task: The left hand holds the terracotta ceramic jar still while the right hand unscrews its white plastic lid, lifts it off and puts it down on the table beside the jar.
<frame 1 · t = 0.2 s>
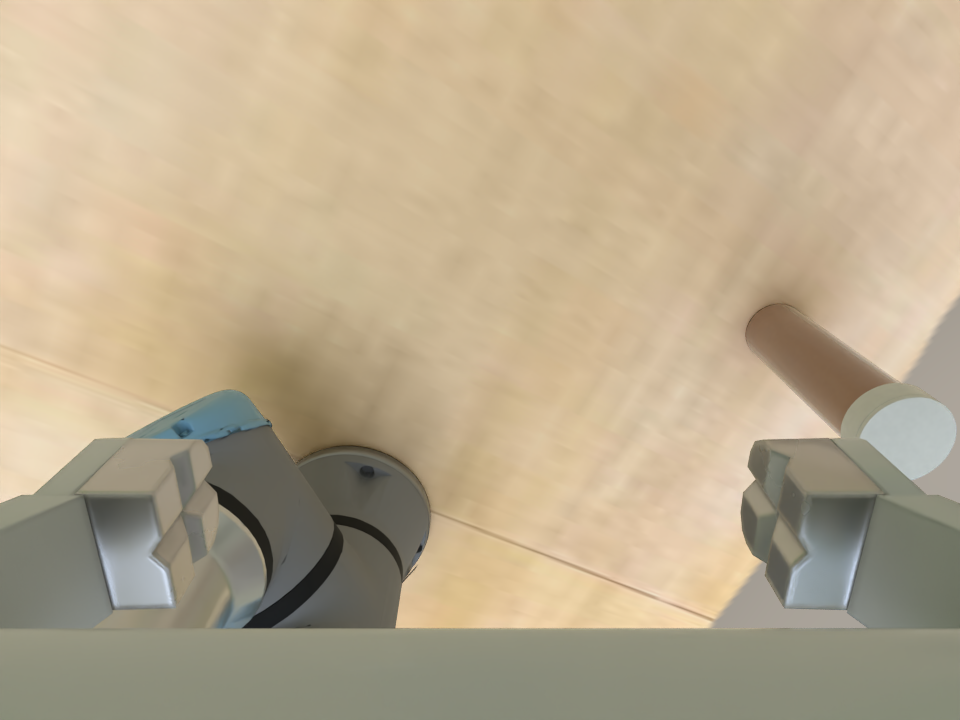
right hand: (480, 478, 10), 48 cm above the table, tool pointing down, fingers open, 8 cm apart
lid: (903, 438, 42), point 20 cm above the table, screwed on, not yet turned
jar: (774, 331, 60), on the table
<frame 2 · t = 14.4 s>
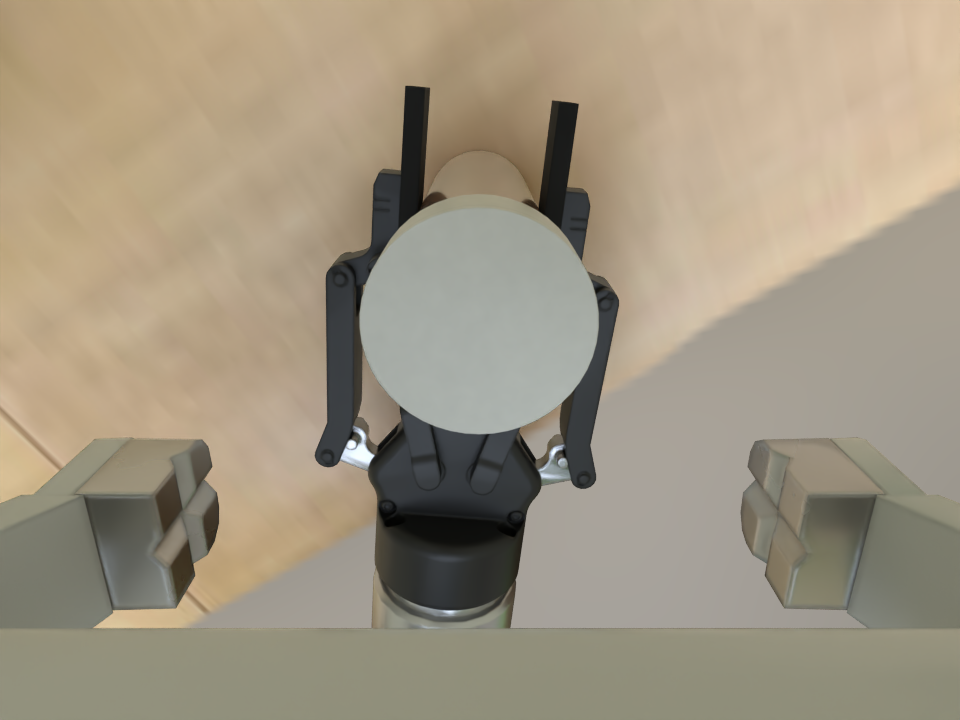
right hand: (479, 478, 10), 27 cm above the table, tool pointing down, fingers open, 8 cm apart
left hand: (491, 95, 27), fingers closed on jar, 5 cm apart
lid: (479, 324, 17), point 20 cm above the table, screwed on, not yet turned
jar: (479, 201, 35), on the table, touching left hand
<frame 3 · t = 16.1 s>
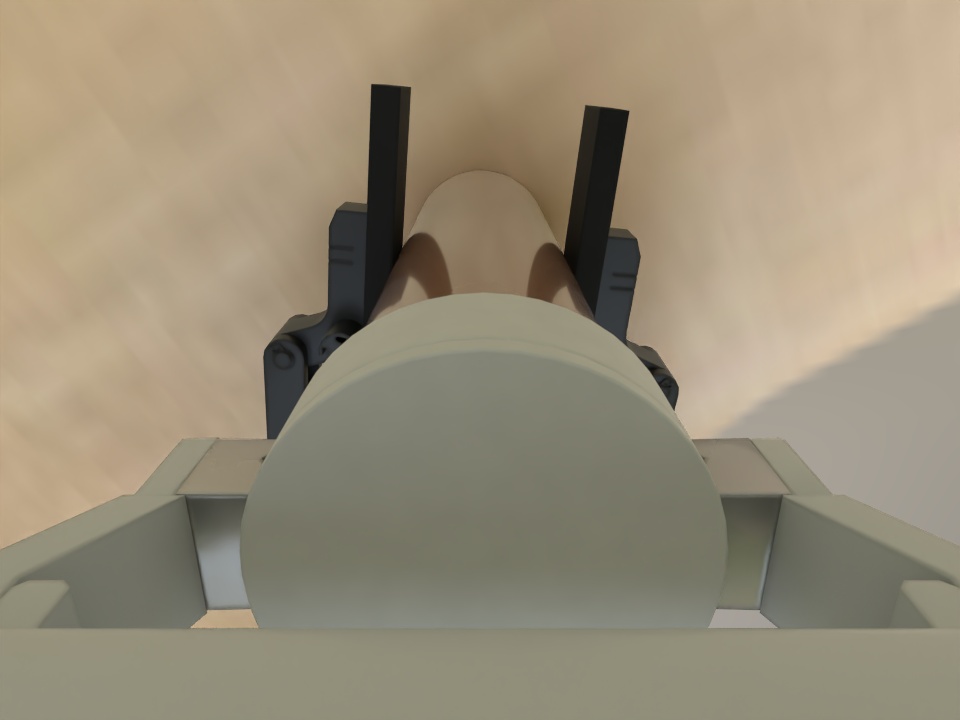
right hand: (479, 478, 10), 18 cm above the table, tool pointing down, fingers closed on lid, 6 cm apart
lid: (483, 557, 9), point 20 cm above the table, screwed on, not yet turned, touching right hand
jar: (480, 236, 27), on the table, touching left hand
when the right hand's fingers open (18 cm above the table, at t = 17.4 s): lid stays where it is, point 20 cm above the table.
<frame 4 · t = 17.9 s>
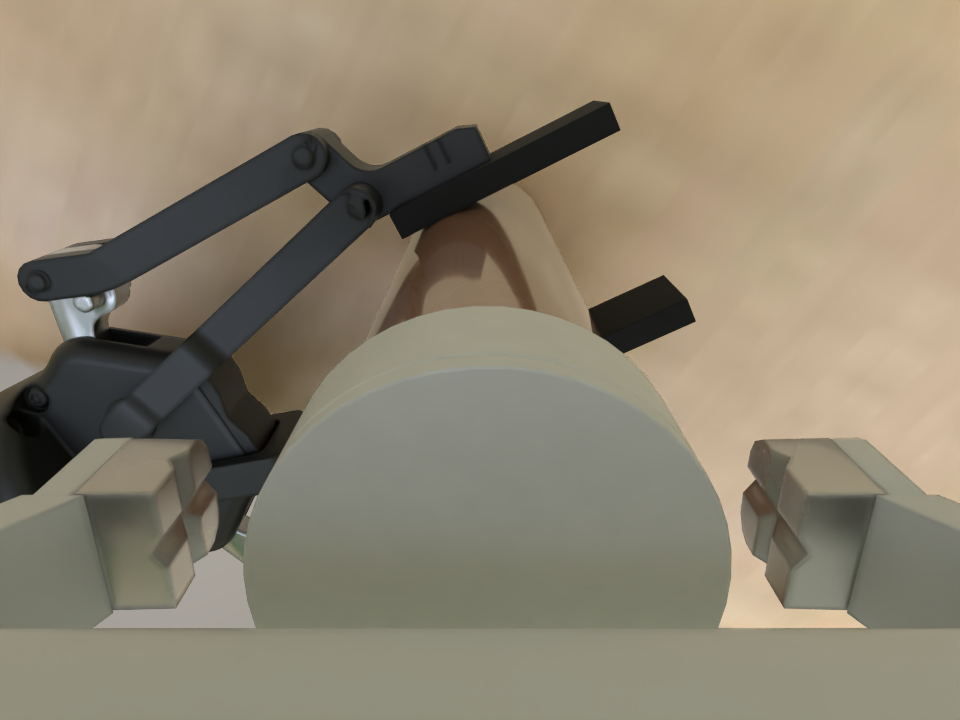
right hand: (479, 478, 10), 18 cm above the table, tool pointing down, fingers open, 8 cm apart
left hand: (642, 210, 20), fingers closed on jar, 5 cm apart
lid: (487, 571, 9), point 20 cm above the table, turned 77° so far, risen 0.2 cm, still on its thread
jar: (481, 240, 27), on the table, touching left hand
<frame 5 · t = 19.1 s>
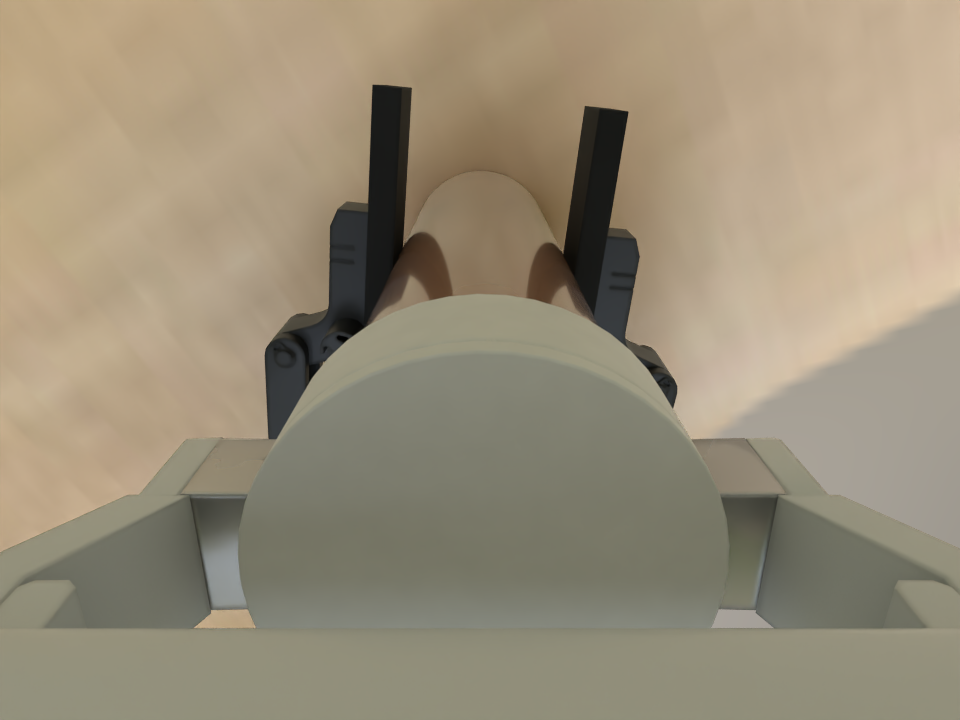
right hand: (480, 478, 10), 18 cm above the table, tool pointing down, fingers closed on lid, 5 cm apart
lid: (483, 560, 9), point 20 cm above the table, turned 77° so far, risen 0.2 cm, still on its thread, touching right hand
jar: (480, 236, 27), on the table, touching left hand
when the right hand's fingers open (2 cm above the table, at t = 26.0 s): lid drops 2 cm, point 2 cm above the table.
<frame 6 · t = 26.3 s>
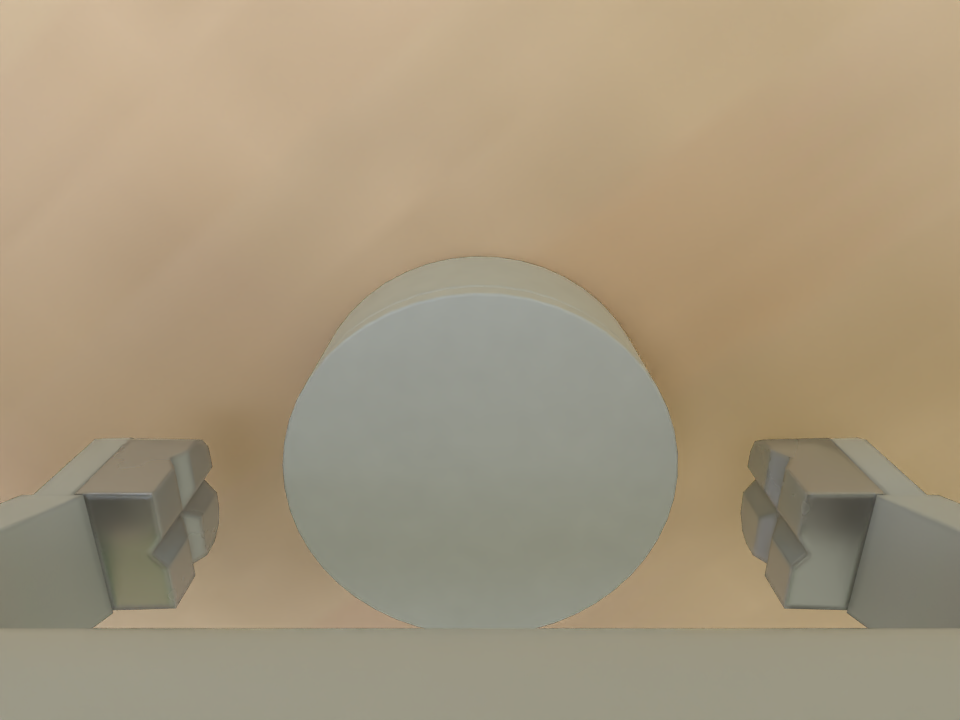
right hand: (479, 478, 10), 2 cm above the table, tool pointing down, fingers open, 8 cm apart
lid: (480, 471, 11), point 2 cm above the table, off its thread
when the left hand's fingers open (7 cm above the table, at t = 26.9 s): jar stays where it is, on the table.
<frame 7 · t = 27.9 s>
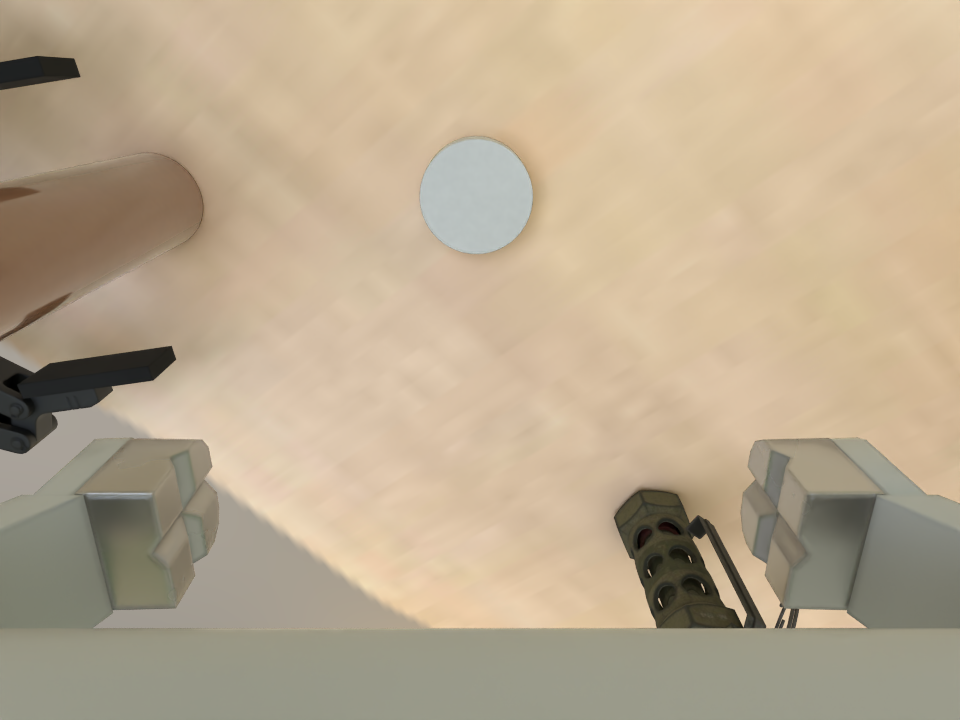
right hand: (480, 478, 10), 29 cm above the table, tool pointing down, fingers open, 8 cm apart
lid: (476, 197, 36), point 2 cm above the table, off its thread
grenade: (668, 511, 45), on the table
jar: (156, 201, 38), on the table
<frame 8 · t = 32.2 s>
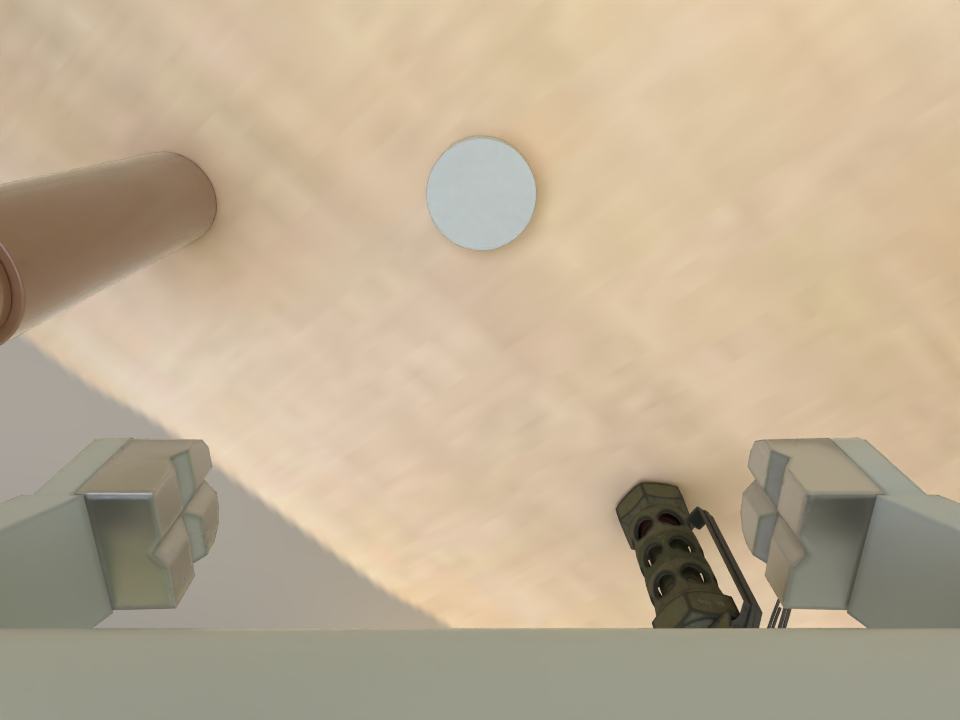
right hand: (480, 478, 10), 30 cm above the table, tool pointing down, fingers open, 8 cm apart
lid: (481, 195, 37), point 2 cm above the table, off its thread
grenade: (668, 503, 46), on the table
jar: (171, 198, 39), on the table
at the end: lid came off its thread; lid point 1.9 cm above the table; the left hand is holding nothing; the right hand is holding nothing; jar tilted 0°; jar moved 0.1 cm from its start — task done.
